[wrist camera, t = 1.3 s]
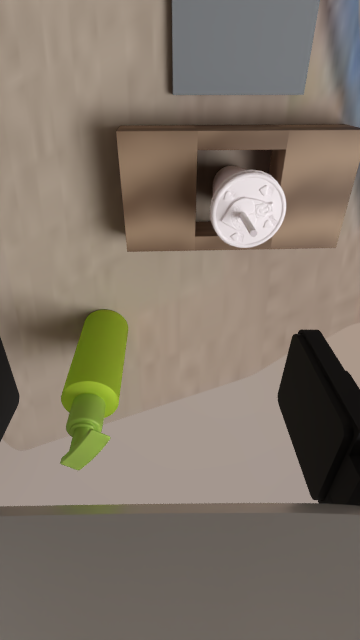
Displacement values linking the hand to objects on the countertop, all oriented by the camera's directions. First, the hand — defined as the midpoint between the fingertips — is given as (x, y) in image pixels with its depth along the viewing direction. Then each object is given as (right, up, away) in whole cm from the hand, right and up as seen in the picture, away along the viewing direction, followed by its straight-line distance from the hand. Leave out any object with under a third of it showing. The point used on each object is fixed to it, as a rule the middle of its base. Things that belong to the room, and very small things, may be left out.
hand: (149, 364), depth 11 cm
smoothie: (+6, +16, +26) cm, 31 cm away
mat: (+6, +27, +17) cm, 33 cm away
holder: (+6, +16, +25) cm, 31 cm away
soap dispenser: (-9, +1, +35) cm, 36 cm away
